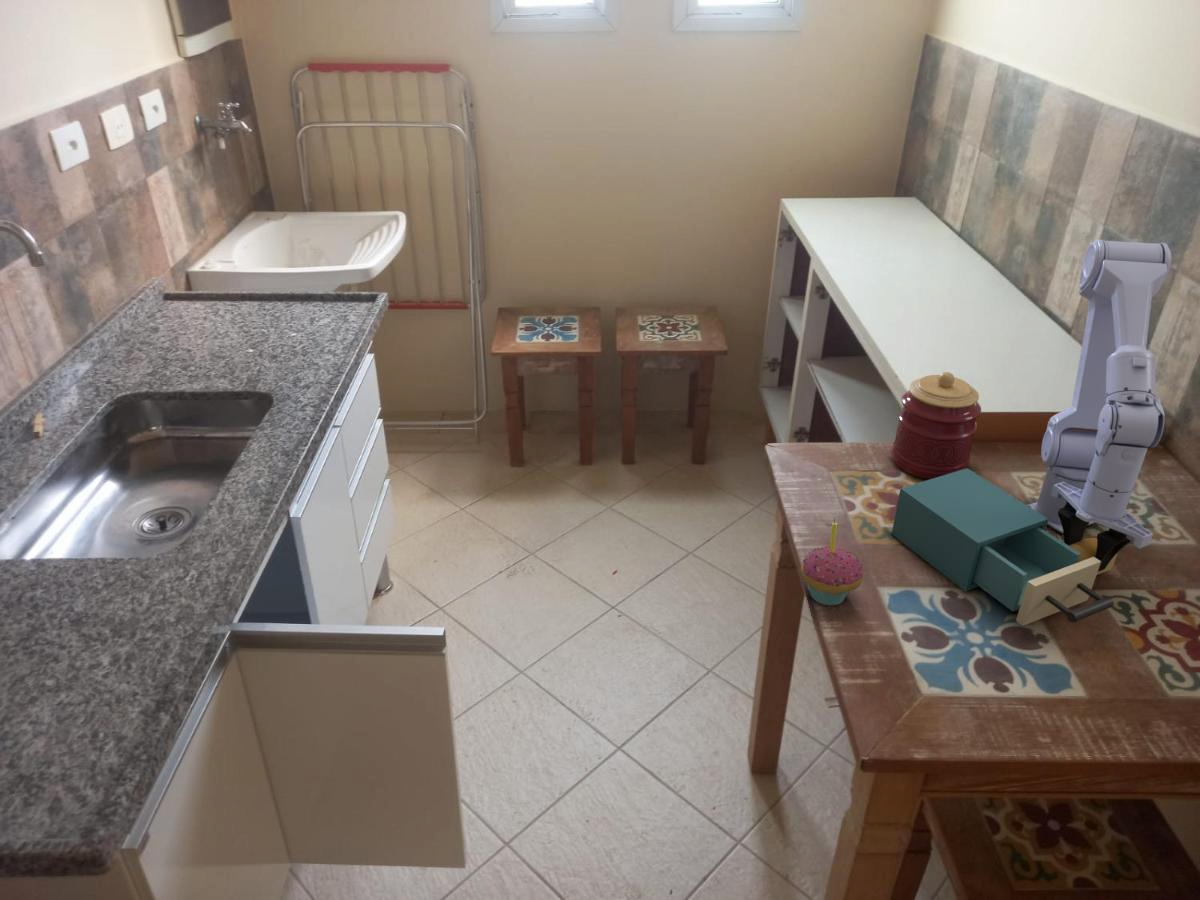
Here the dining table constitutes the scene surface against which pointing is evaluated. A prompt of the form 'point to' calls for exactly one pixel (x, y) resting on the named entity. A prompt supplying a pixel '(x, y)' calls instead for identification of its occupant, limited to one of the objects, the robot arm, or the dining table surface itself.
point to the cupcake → (831, 572)
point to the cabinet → (958, 521)
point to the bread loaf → (1090, 551)
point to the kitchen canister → (936, 426)
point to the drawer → (1038, 576)
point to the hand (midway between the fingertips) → (1083, 560)
